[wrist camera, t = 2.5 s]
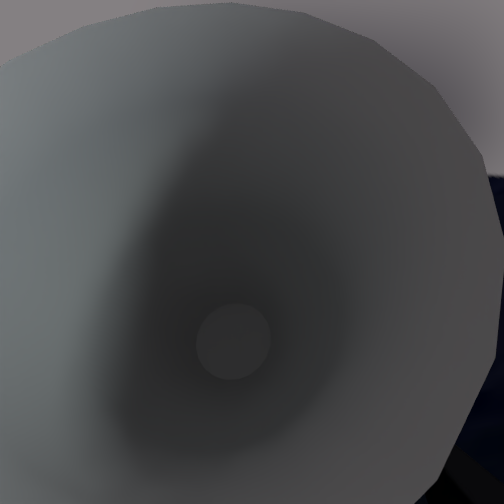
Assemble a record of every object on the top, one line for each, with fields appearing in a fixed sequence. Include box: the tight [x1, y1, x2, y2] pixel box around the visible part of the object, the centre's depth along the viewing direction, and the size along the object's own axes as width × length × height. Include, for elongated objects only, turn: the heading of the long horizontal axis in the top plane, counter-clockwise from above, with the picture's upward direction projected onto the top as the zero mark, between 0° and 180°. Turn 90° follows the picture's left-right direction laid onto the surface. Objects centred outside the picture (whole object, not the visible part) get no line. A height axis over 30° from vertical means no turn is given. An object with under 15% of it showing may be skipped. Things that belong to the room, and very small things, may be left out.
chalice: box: [0, 3, 504, 504], centre depth 12 cm, size 7×7×18 cm
